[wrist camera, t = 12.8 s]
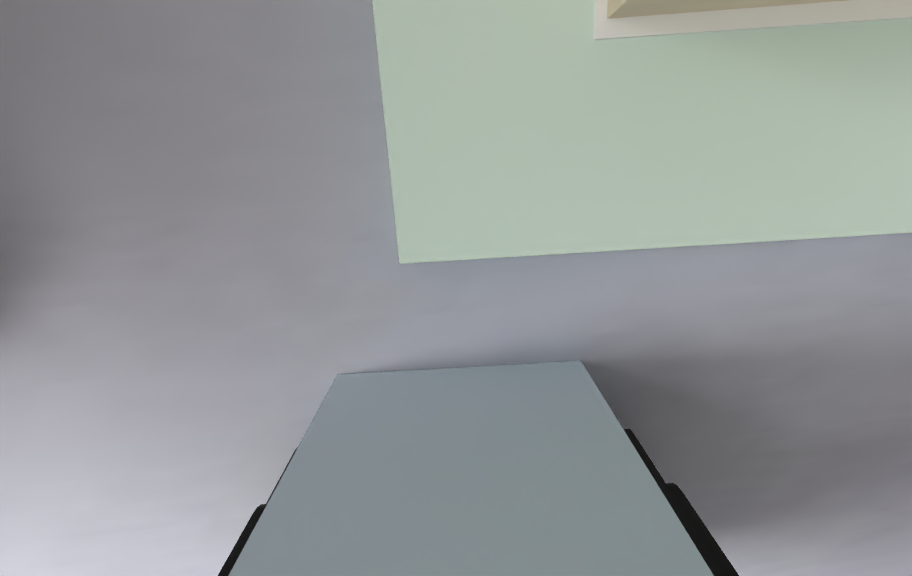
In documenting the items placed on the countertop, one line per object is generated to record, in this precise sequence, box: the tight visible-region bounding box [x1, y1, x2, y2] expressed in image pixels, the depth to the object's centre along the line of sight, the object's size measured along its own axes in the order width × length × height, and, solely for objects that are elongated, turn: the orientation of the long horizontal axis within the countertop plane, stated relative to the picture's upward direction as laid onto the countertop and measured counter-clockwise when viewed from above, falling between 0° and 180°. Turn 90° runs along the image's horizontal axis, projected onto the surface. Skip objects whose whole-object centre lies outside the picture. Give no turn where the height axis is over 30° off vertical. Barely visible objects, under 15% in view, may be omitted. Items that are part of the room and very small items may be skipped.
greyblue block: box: [229, 360, 714, 576], centre depth 9 cm, size 6×6×6 cm
